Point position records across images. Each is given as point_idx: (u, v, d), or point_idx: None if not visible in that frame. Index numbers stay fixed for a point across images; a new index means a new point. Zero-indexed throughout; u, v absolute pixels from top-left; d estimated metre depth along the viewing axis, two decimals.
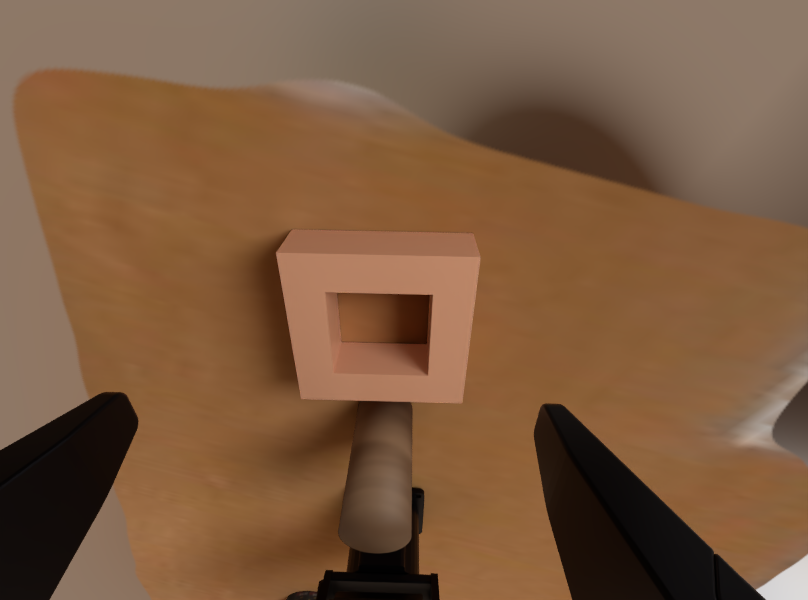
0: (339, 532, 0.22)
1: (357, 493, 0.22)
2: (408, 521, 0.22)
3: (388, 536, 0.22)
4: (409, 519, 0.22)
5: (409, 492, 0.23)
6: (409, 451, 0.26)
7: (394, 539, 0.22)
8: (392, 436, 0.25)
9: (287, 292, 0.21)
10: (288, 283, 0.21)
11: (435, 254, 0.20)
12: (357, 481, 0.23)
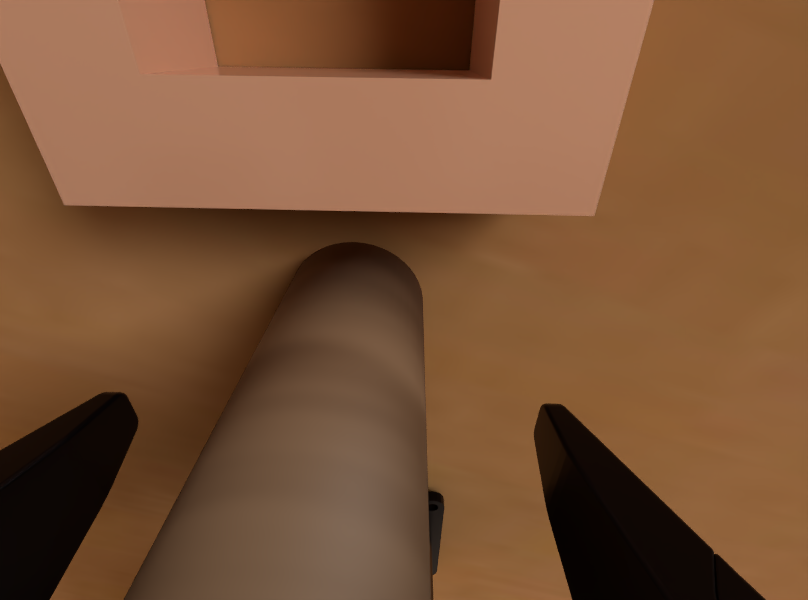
0: None
1: (185, 527, 0.05)
2: None
3: None
4: None
5: (421, 516, 0.06)
6: (418, 382, 0.08)
7: None
8: (364, 329, 0.08)
9: None
10: None
11: None
12: (205, 473, 0.06)
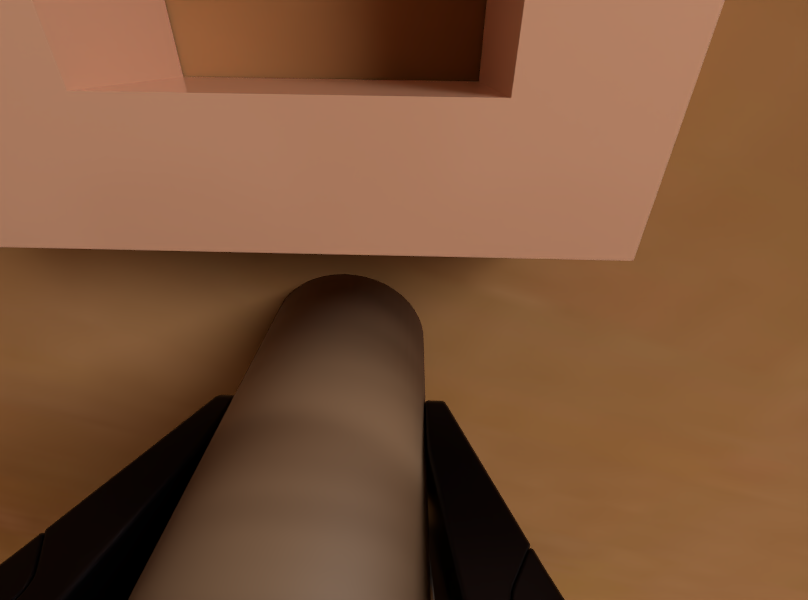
0: None
1: None
2: None
3: None
4: None
5: None
6: (418, 454, 0.07)
7: None
8: (353, 394, 0.07)
9: None
10: None
11: None
12: None
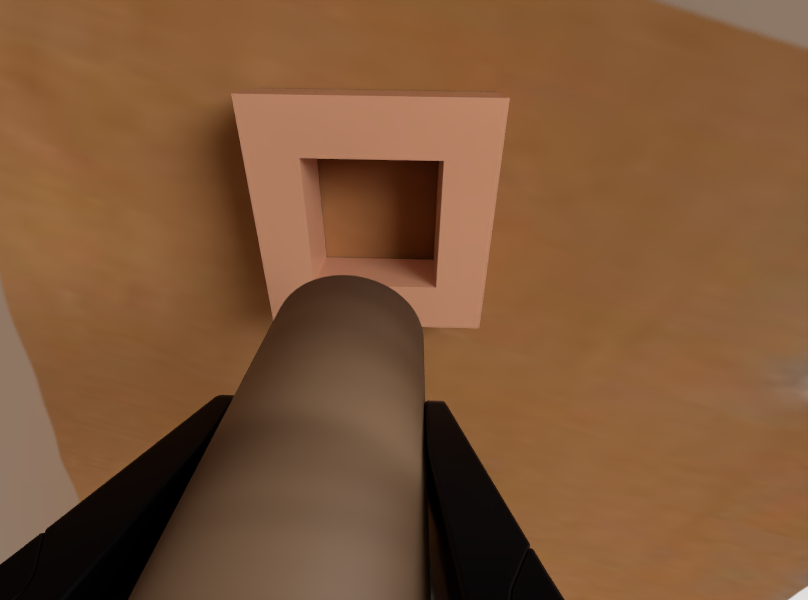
0: None
1: None
2: None
3: None
4: None
5: None
6: (418, 456, 0.07)
7: None
8: (353, 396, 0.07)
9: (249, 159, 0.16)
10: (250, 144, 0.15)
11: (448, 96, 0.14)
12: None
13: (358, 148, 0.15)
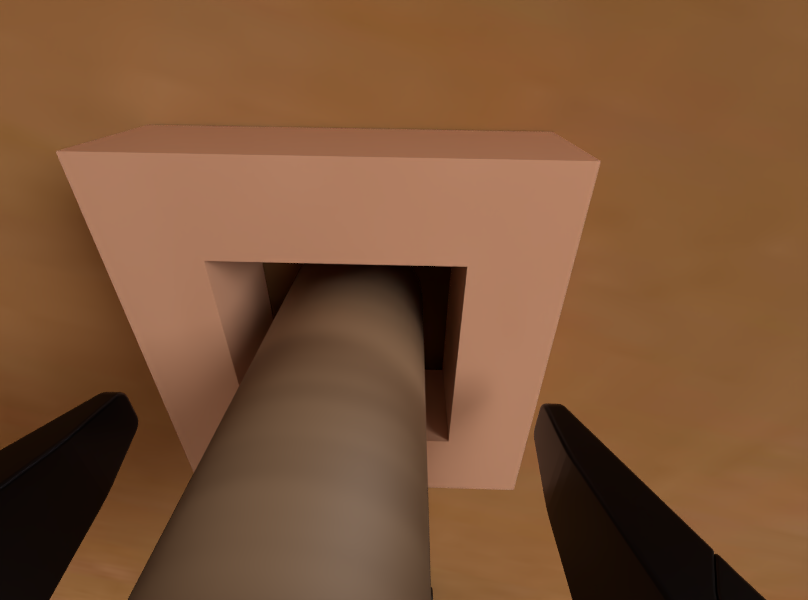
0: None
1: (200, 505, 0.05)
2: None
3: None
4: None
5: (421, 499, 0.06)
6: (418, 374, 0.09)
7: None
8: (366, 323, 0.08)
9: (114, 261, 0.09)
10: (110, 238, 0.08)
11: (479, 157, 0.07)
12: (216, 457, 0.06)
13: (310, 246, 0.08)
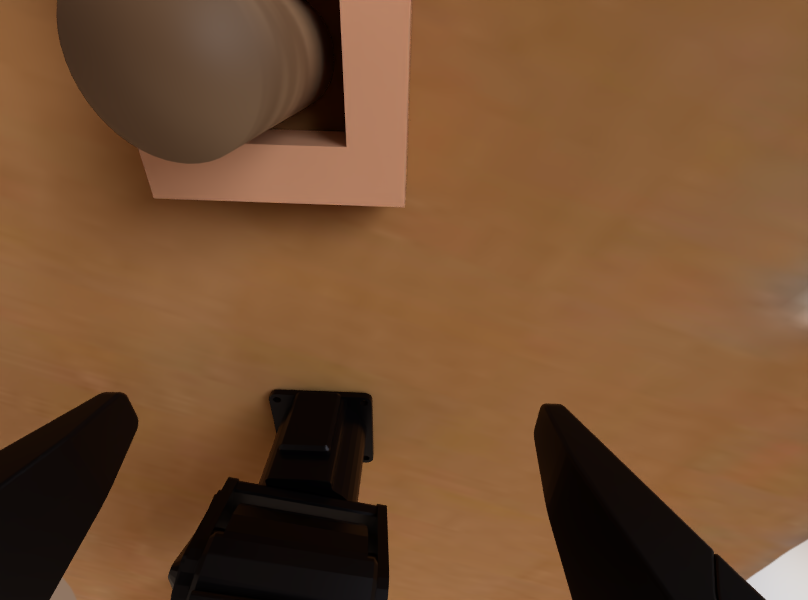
0: (67, 55, 0.08)
1: None
2: (249, 18, 0.08)
3: (200, 73, 0.08)
4: (256, 27, 0.08)
5: (276, 26, 0.10)
6: (302, 26, 0.12)
7: (219, 87, 0.08)
8: None
9: None
10: None
11: None
12: None
13: None
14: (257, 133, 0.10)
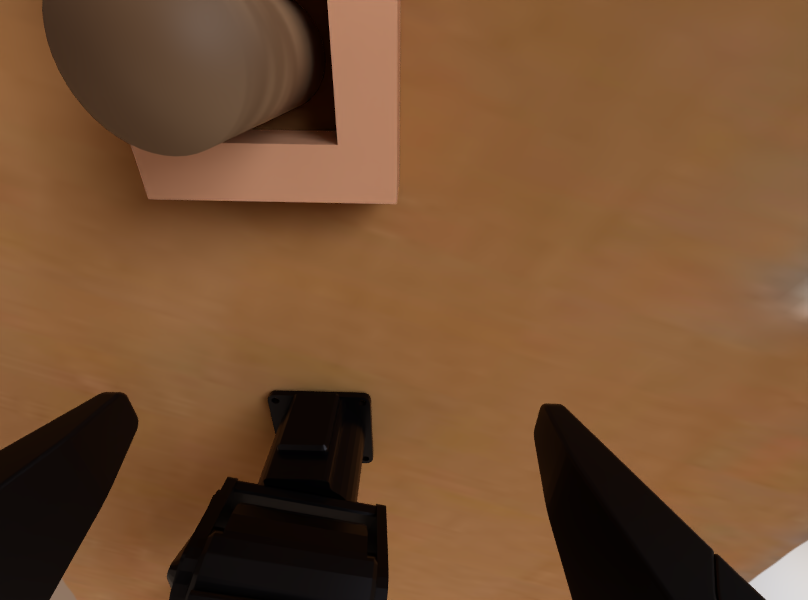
0: (54, 49, 0.08)
1: None
2: (232, 10, 0.08)
3: (185, 65, 0.08)
4: (239, 19, 0.08)
5: (261, 20, 0.10)
6: (289, 23, 0.12)
7: (204, 79, 0.09)
8: None
9: None
10: None
11: None
12: None
13: None
14: (244, 126, 0.10)
